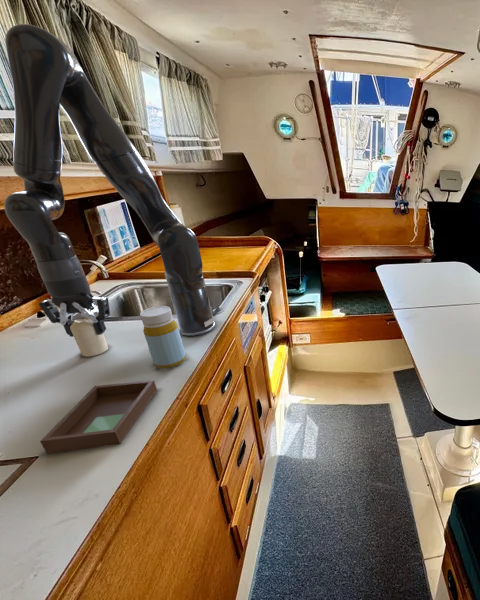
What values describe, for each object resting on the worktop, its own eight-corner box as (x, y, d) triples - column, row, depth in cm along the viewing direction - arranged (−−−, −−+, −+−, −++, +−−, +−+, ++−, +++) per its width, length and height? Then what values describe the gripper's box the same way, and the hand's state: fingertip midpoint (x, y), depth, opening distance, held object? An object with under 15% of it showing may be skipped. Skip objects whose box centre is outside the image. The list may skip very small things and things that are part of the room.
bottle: (151, 372, 81) (134, 319, 75) (158, 357, 87) (142, 307, 81) (184, 366, 84) (169, 314, 78) (188, 352, 90) (174, 303, 84)
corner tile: (97, 417, 66) (96, 417, 66) (134, 413, 68) (134, 412, 67) (74, 444, 60) (73, 443, 60) (116, 438, 61) (116, 438, 61)
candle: (107, 343, 92) (95, 312, 88) (109, 351, 89) (96, 319, 85) (81, 350, 89) (67, 318, 85) (82, 359, 85) (68, 326, 81)
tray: (99, 396, 73) (94, 385, 71) (157, 390, 75) (154, 380, 74) (46, 453, 59) (39, 441, 57) (120, 444, 61) (114, 431, 60)
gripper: (106, 269, 85) (126, 325, 92) (40, 271, 82) (66, 329, 89) (87, 278, 78) (110, 339, 85) (15, 281, 75) (45, 343, 82)
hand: (87, 334), depth 87 cm, fingers closed on candle, 5 cm apart
